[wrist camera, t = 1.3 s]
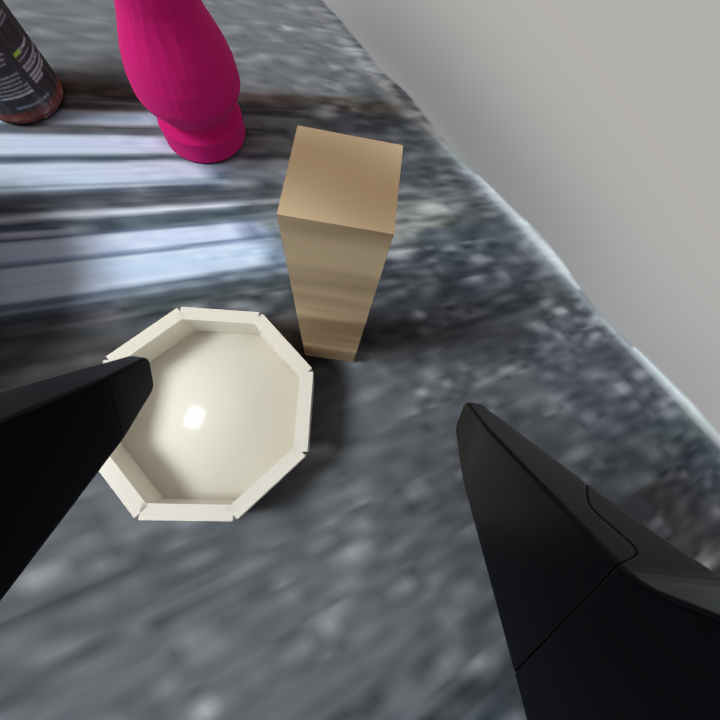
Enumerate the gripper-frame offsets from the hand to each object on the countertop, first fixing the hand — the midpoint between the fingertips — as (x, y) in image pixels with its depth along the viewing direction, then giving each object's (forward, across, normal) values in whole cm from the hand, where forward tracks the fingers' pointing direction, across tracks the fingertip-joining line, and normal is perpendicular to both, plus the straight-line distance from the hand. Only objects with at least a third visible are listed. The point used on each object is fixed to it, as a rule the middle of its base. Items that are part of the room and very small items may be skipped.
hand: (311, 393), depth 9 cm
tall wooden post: (+14, 0, +4) cm, 14 cm away
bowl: (+9, +6, +9) cm, 14 cm away
